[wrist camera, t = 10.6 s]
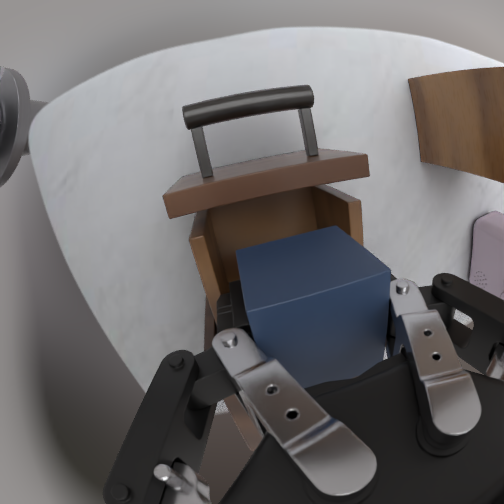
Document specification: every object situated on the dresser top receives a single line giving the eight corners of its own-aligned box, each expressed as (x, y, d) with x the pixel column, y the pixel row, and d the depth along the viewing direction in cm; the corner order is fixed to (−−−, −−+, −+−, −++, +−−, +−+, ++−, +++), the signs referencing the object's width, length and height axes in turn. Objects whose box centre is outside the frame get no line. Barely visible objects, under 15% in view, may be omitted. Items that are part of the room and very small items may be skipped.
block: (257, 331, 14) (273, 402, 10) (235, 249, 12) (245, 311, 8) (342, 307, 14) (382, 366, 10) (335, 224, 12) (391, 269, 8)
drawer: (168, 121, 17) (141, 109, 10) (308, 94, 17) (353, 74, 11) (222, 318, 24) (227, 380, 17) (334, 290, 24) (370, 340, 17)
